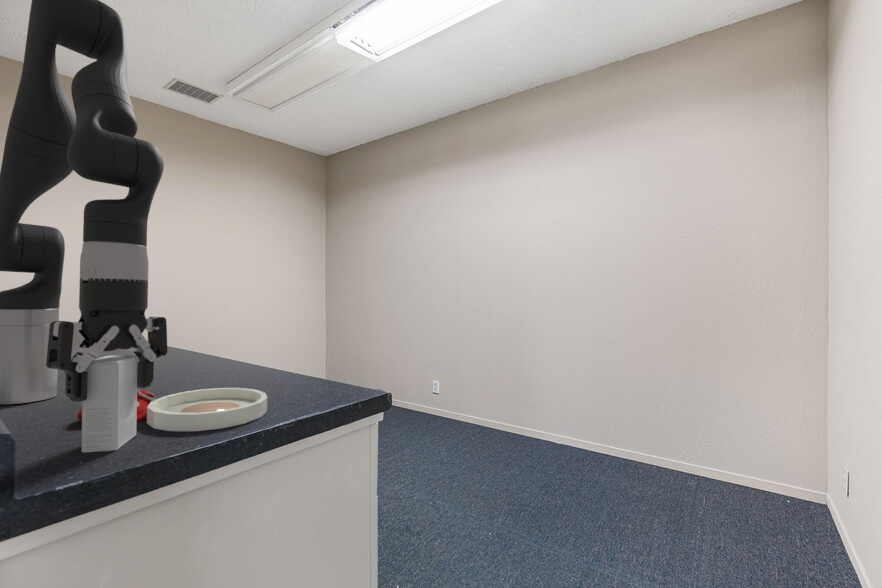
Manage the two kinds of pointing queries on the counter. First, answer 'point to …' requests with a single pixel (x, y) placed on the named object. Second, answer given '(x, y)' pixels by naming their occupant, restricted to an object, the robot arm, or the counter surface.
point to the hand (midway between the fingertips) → (112, 393)
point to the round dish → (206, 409)
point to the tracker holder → (142, 404)
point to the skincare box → (110, 403)
